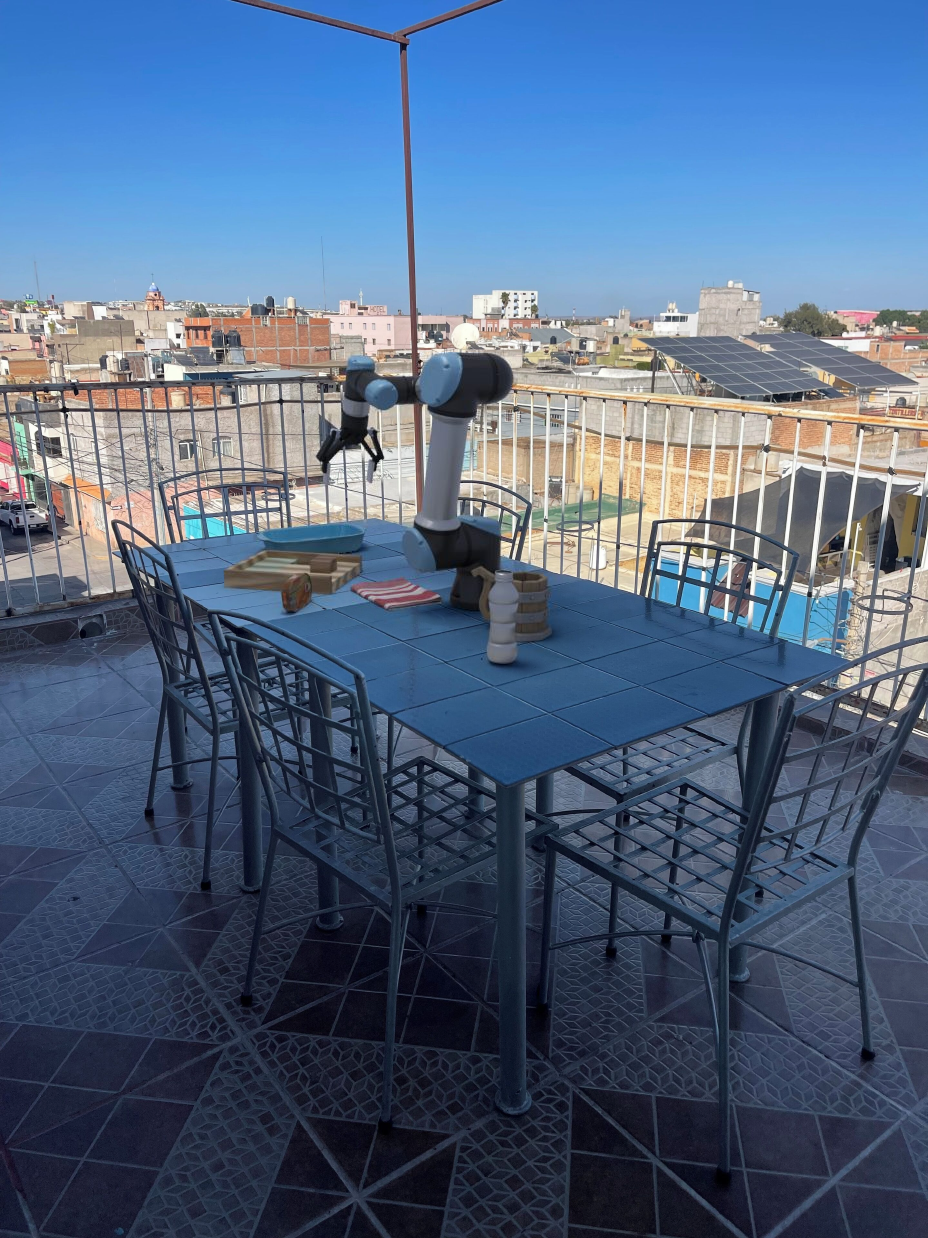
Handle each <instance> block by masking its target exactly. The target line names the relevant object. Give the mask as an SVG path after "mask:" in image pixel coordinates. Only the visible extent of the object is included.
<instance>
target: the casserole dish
mask: <svg viewBox="0 0 928 1238" xmlns="http://www.w3.org/2000/svg"><path fill="white" fill-rule="evenodd" d="M366 530H367V527H365V526H363V525H359V524H352V523H348V522H347V523H346V522H334V523H323V524H322V523H321V524H313V525H312V524H310V525H302V526H290V527H288V526H287V527H278V528H271V529H266V530H265V529H264V530H262V531H261V532H260V534H258V535H256V538H257V539H258V540H259V541H261V542H263V545H264V547H265V550H274V551H292V552H310V553H327V554H338V553H343V554H347V553H346V552H350V553H353V552H352V551H354V552H356V551H357V550H359V549H360V547H361V546H362V544H363V541H364V537H365V533H366Z"/></svg>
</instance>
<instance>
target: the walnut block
mask: <svg viewBox="0 0 928 1238" xmlns="http://www.w3.org/2000/svg"><path fill="white" fill-rule="evenodd" d="M335 570H337V557H320V556H317V557H315V558H314V559H312V560H310V573H322V574H331V573H332V572H334V571H335Z"/></svg>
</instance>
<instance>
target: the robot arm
mask: <svg viewBox="0 0 928 1238" xmlns="http://www.w3.org/2000/svg"><path fill="white" fill-rule="evenodd" d="M375 371H376V362H375V360H374V359H373V358H371V357H369V356H366V355H359V354H358V355H357V354H356V355H351V356H349V357H348V359H347V364H346V369H345V381H344V393H343V400H342V401H343V402H342V410H343V411H341V420H340V428H339V429H336V428H333V427H330V428H329V430H328V435H327V437H326V438H325V440H324V442H323V444H322V445H321V447H320V449H319V450H318V452H317V453H316V455H315V458H316V459H317V460H318V462H321V472H322V474H323V480H322V481H323V484H325V486H329V485H330V477H331V466H332V463H330V462H331V461H332V459H333V458H334V457H335V456H336V455H337V454H338V453H339V452H340V450H342V448H345V447H346V445H347V446H353V445H354V446H359V445H360V444H361V446H362V447H363V448H364V449H365V451H366V452H367V454H368V455H369V457H370V458H369V459H368V463H367V464H368V465H367V473H366V481H367V482H368V483H369V484H373V478H374V473H375V472H376V471H377V468H378V464H379V463H380V461H384V460H385V456H384V452H383V449H382V448H381V447H382V446H381V444H380V441H379V439H378V430H377V429H376V428H375V427H373V426H372V427H370V428H368V426H369V416H370V415H369V414H370V411H371V410H370V409H371V406H372V407H374V408H375V409H377V410H378V411H379V410H380V411H388V410H390V409H391V408H393V407H394V406H400V405H401V406H402V405H427V407H426V410H427V412H428V413H429V414H430V416H431V417H432V419H431V421H432V422H431V429H430V437H429V438H430V439H429V445H428V453H427V462H426V471H425V478H424V487H423V495H422V503H421V509H420V510H421V511H419V512H418V513H416V514H415V515H414V519H413V526H411V527H410V526H409V527H408V528H406V529H405V531H403V533H402V538H401V539H402V540H401V542H402V544H401V546H402V550H403V551H402V552H403V554H404V557H405V559H406V563H408V566H409V567H410V568H411V569H412V570H414V571H415V572H417V573H418V574H419V573H420V574H426V573H430V574H434V573H435V572H441V571H442V572H443V571H449V570H454V569H455V571H456V572H455V577H454V580H453V583H452V586H451V589H450V592H449V604H450V605H451V606H453V607H455V608H458V609H463V610H469V611H480V609H479V599H480V597H481V594H482V591H483V587H484V578H483V577H482V576H480V575H478V576H476V577H474V576H473V574H472V572H471V571H472V570H474V569H476V568H478V567H480V566H482V567H483V568H485V569H486V570H487V571H489V572H491V573H492V574H494V575H495V571H497V570H501V551H502V550H501V549H502V546H501V544H502V527H501V525H502V524H501V523H500V521H498V520H497V519H495V518H492V517H488V516H487V517H486V516H483V515H482V516H481V515H473V514H472V515H471V514H466V515H465V514H464V515H462V514H460V515H457V508H458V501H459V496H460V495H459V494H460V488H461V487H460V486H461V479H462V474H463V465H464V459H465V450H466V445H467V444H466V443H467V438H468V437H467V436H468V432H469V431H468V430H469V424H470V422H471V421H472V420H474V419H475V418H476V417H477V412H478V407H479V405H481V406H482V405H483V406H484V405H492V404H496V403H498V402H501V401H502V400H504V399H505V398H506V397H507V396H508V395H509V394H510V393H511V390H512V388H513V386H514V372H513V369H512V367H511V365H510V364H509V363H508V361H507V360H506V359H505V358H503V357H502V356H500V355H498V354H496V353H492V352H490V353H489V352H459V351H458V352H454V351H447V352H441V353H440V352H437V353H435V354H433V355H432V356H431V357H430V358H429V359H427V360H426V362H425V364H424V365H423V367H422V369H421V372H420V374H419V375H408V376H407V375H405V376H402V375H400V376H397V375H393V376H392V375H389V376H388V375H387V376H386V375H385V376H382V375H379V374H378V373H376V372H375ZM338 435H339V437H338ZM367 436H370V439H371V441H372V444H373V447H374V450H375V452H374V451H373V450H372V449H371V446H369V444H368V442H367V441H366V440H365V439H366V437H367ZM336 438H338V439H336ZM335 440H336V441H335ZM334 442H335V443H334ZM375 453H376V454H375ZM456 515H457V517H456ZM494 584H495V582H493V586H494ZM488 605H489V602H488ZM489 610H490V608H489Z"/></svg>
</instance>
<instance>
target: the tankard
mask: <svg viewBox="0 0 928 1238" xmlns="http://www.w3.org/2000/svg"><path fill="white" fill-rule="evenodd" d="M471 572H472V574H473V576H474V577H476V576H478V575H480V576H482V577H483V578H484V587H483V591H482V594H481V597H480V599H479V609H480V610H479V611H480V613H481V615H482V618H483V620H485V621H488V622H490V621H491V620H490V610H489V605H488V602H489V600H488V595H489V592H490V590H491V589H492V587H493V582H495V583H496V581H495V575H494V574H492V573H491V572H489V571H487V570H486V569H485V568H483V567H482V566H480V567H478V568H476V569H474V570H472V571H471ZM512 572H513V581H512V584H513V585H514V587H515V588H516V590H517V591H518V594H519V601H518V607H517V613H516V621H515V622H516V624H515V632H516V643H526V642H527V643H529V642H540V641H543V640H544V639H546V638H548V637H549V636H551V635H552V630H553V628H552V627H551V626H549V625H548V624H547V619H548V618H549V617H550V608H549V607H548V606H547V604H548V603H547V602H548V599H549V598H551V587H549V586H548V577H547V576H546V575H545V574H543V573H540V572H535V571H525V570H524V571H523V570H522V571H512Z"/></svg>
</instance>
